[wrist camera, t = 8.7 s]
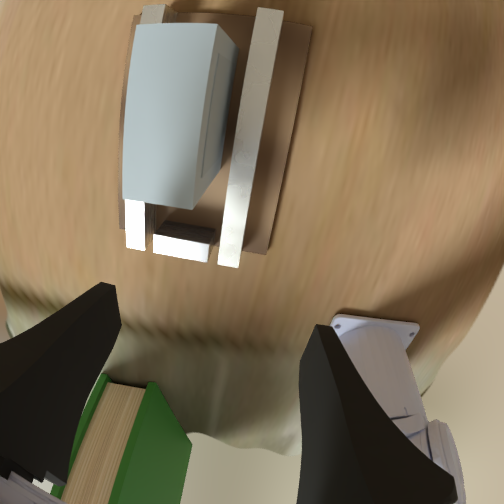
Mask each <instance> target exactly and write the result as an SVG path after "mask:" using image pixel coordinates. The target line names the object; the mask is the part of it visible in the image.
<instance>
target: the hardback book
mask: <svg viewBox="0 0 504 504" xmlns="http://www.w3.org/2000/svg"><path fill="white" fill-rule="evenodd" d="M191 448H192V443H191V442H190V440H189V438H188V437H187V435H186V434H185V432H184V430H183V429H182V427H181V426H180V424H179V422H178V421H177V419H176V417H175V416H174V414H173V412H172V410H171V409H170V407H169V405H168V403H167V402H166V400H165V398H164V396H163V394H162V393H161V391H160V389H159V387H158V385H157V383H155V382H148V385H147V387H146V389H142V388H136V387H130V386H125V385H119V384H114V383H113V382H112V381H111V379H110V378H109V376H108V375H107V374H102V373H101V375H100V377H99V379H98V381H97V383H96V385H95V388H94V390H93V392H92V394H91V396H90V398H89V400H88V402H87V405H86V407H85V409H84V411H83V413H82V416H81V418H80V421H79V424H78V428H77V432H76V435H75V439H74V443H73V448H72V452H71V457H70V463H69V470H68V477H67V484H66V485H64V486H57V485H55V484H53V487H52V490H51V493H50V494H51V495H53V496H54V497H56V498H58V499H60V500H62V501H64V502H66V503H68V504H180V501H181V496H182V492H183V487H184V482H185V477H186V472H187V467H188V462H189V458H190V454H191Z"/></svg>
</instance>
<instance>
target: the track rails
mask: <svg viewBox="0 0 504 504" xmlns="http://www.w3.org/2000/svg"><path fill="white" fill-rule="evenodd" d="M177 15H178V12H176V11H175V10H173V9H172V8H170V7H169V6H168V5H166V4H159V5H146V6H143V11H142V16H141V21H140V25H141V24H157V23H176V20H177ZM283 16H284V11H281V10H275V9H268V8H261V7H258V9H257V14H256V19H255V24H254V29H253V34H252V40H251V45H250V50H249V56H248V61H247V67H246V72H245V78H244V84H243V90H242V96H241V102H240V108H239V114H238V120H237V126H236V133H235V139H234V146H233V152H232V159H231V166H230V173H229V180H228V187H227V194H226V201H225V209H224V216H223V224H222V232H221V239H220V248H219V256H218V265H223V266H229V267H234V268H238V266H239V261H240V257H241V252H242V247H243V241H244V235H245V229H246V223H247V217H248V212H249V206H250V200H251V194H252V188H253V183H254V177H255V171H256V166H257V160H258V154H259V149H260V143H261V138H262V132H263V126H264V121H265V115H266V110H267V104H268V99H269V93H270V88H271V83H272V77H273V72H274V66H275V61H276V56H277V50H278V45H279V40H280V35H281V29H282V24H283ZM156 206H157V204H152V203H145V202H138V201H132V200H125V212H126V236H127V247H130V248H135V249H140V250H145V249H146V248H147V247H148V245H149V244H150V243H151V241H152V240H153V239H154V252H155V253H160V254H165V255H170V256H176V257H181V258H186V259H191V260H197V261H202V262H208V259H209V257H210V254H211V252H212V249H213V246H214V239H215V231H216V229H214V228H208V227H202V226H197V225H191V224H185V223H179V222H173V221H168V220H165V221H164V222H163V223H162V224H161V226H160V227H159V228H158V230H157V231H156Z"/></svg>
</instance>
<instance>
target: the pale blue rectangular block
mask: <svg viewBox="0 0 504 504" xmlns="http://www.w3.org/2000/svg"><path fill="white" fill-rule="evenodd" d="M238 53H239V48H238V47H237V46H236V44H235V43H234V42H233V41H232V40H231V39H230V37H229V36H228V35H227V34H226V33H225V32H224V31H223V29H222V28H221V27H220V26H219V25H218V24H210V23H157V24H141V25H136V31H135V36H134V42H133V48H132V55H131V61H130V69H129V77H128V85H127V95H126V106H125V119H124V136H123V165H122V197H123V199H125V200H132V201H138V202H145V203H152V204H158V205H165V206H171V207H177V208H183V209H189V210H193V208H194V207H195V205H196V204H197V202H198V201H199V199H200V198H201V197H202V195H203V194H204V192H205V191H206V189H207V188H208V186H209V185H210V184H211V182H212V181H213V179H214V178H215V177H216V175H217V174H218V172H219V171H220V168H221V161H222V154H223V146H224V139H225V133H226V126H227V119H228V113H229V106H230V100H231V94H232V88H233V82H234V76H235V70H236V64H237V59H238Z"/></svg>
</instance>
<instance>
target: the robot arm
mask: <svg viewBox="0 0 504 504" xmlns="http://www.w3.org/2000/svg"><path fill="white" fill-rule="evenodd" d="M337 324H339V325H337ZM121 326H122V324H121V319H120V313H119V307H118V301H117V294H116V287H115V285H111V284H107V283H104V282H100V283H99V284H97V285H95V286H94V287H92V288H91V289H89V290H88V291H86V292H85V293H84V294H82V295H81V296H79V297H78V298H76V299H75V300H73V301H72V302H70V303H69V304H68V305H66V306H65V307H63V308H62V309H60V310H59V311H57V312H56V313H54V314H53V315H51V316H49V317H48V318H46V319H45V320H43V321H42V322H40V323H39V324H37V325H35V326H34V327H32V328H30V329H28V330H27V331H25V332H23V333H21V334H19V335H17V336H15V337H14V338H12V339H10V340H7V341H5V342H3V343H0V504H68V503H66V502H64V501H62V500H60V499H58V498H56V497H54V496H53V495H51V494H49V493H47V492H45V491H44V490H42V489H40V488H39V487H37V486H35V485H34V484H32V482H33V479H36V480H38V481H39V482H41V483H42V482H43V480H44V479H46V480H48V481H50V482H52V483H53V484H55V485H57V486H64V485H66V484H67V477H68V470H69V463H70V457H71V452H72V448H73V443H74V439H75V435H76V432H77V428H78V424H79V421H80V418H81V415H82V412H83V409H84V406H85V403H86V401H87V398H88V396H89V394H90V391H91V389H92V388H93V386H94V384H95V382H96V380H97V378H98V376H99V374H100V372H101V370H102V368H103V366H104V364H105V362H106V361H107V359H108V357H109V355H110V353H111V351H112V349H113V347H114V344H115V342H116V339H117V337H118V334H119V331H120V329H121ZM419 329H420V327H419V324H418V323H411V322H402V321H393V320H385V319H376V318H368V317H360V316H353V315H345V314H337V315H336V316H334V318H333V320H332V322H331V324H330V326H326V325H318V324H316V325H315V328H314V330H313V332H312V335H311V337H310V339H309V342H308V344H307V346H306V348H305V351H304V353H303V355H302V357H301V360H300V370H299V398H300V413H301V429H302V458H301V470H300V481H299V489H298V497H297V503H296V504H466V495H465V489H464V480H463V473H462V468H461V464H460V459H459V456H458V452H457V449H456V445H455V442H454V439H453V436H452V434H451V431H450V429H449V427H448V425H447V424H446V423H443V422H440V421H439V420H437V419H436V420H433V421H431V422H429V421H428V420H427V417H426V413H425V410H424V406H423V403H422V399H421V396H420V393H419V390H418V386H417V383H416V380H415V377H414V374H413V371H412V368H411V365H410V362H409V359H408V356H407V353H406V351H405V350H406V349H407V348H408V346H409V345H410V343H411V342H412V340H413V339H414V337H415V336H416V334H417V333H418V331H419Z"/></svg>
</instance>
